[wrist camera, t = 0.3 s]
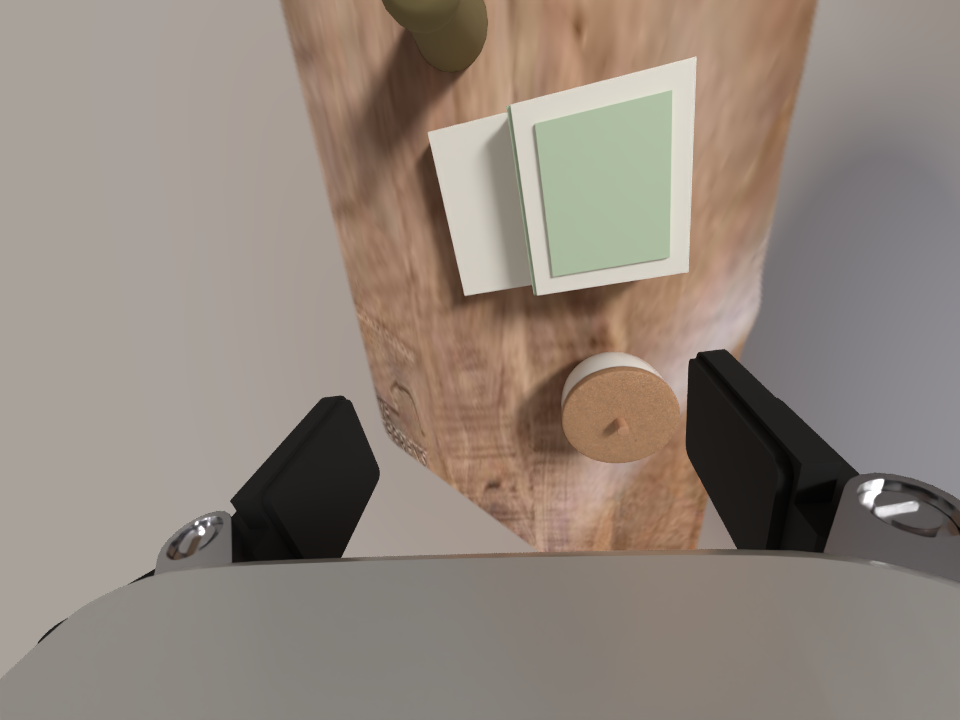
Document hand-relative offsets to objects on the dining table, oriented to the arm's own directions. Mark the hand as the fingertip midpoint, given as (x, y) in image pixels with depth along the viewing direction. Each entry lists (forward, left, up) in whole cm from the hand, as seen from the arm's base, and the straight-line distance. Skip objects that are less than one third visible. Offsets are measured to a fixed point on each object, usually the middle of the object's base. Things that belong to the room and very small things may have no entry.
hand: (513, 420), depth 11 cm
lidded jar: (+17, +6, -30) cm, 35 cm away
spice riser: (-3, +3, -30) cm, 30 cm away
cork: (-17, -4, -30) cm, 35 cm away
